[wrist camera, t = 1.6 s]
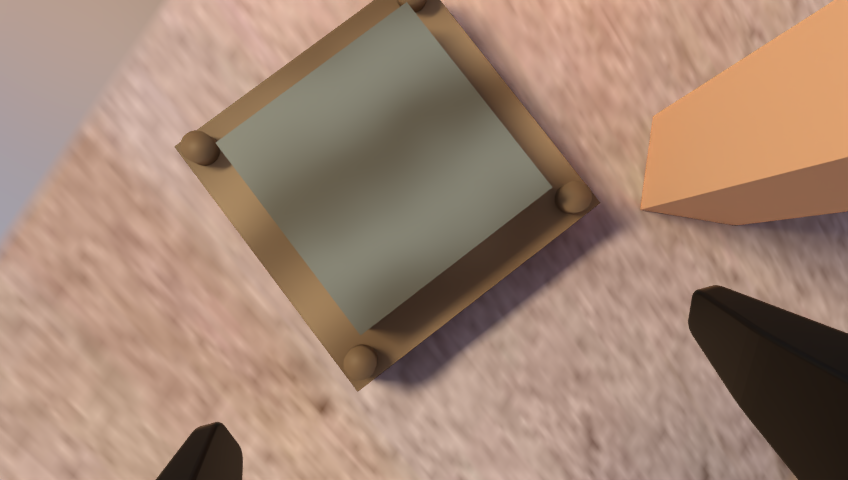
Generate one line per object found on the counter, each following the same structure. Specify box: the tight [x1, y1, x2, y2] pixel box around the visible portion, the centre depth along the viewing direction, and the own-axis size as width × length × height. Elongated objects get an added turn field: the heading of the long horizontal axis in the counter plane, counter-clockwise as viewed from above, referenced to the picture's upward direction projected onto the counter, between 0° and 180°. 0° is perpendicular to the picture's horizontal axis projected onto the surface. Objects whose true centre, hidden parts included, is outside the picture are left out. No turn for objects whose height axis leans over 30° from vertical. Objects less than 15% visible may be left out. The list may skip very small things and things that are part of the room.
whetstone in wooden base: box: [175, 0, 600, 391], centre depth 21 cm, size 14×14×4 cm
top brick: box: [640, 0, 848, 226], centre depth 17 cm, size 5×5×13 cm
